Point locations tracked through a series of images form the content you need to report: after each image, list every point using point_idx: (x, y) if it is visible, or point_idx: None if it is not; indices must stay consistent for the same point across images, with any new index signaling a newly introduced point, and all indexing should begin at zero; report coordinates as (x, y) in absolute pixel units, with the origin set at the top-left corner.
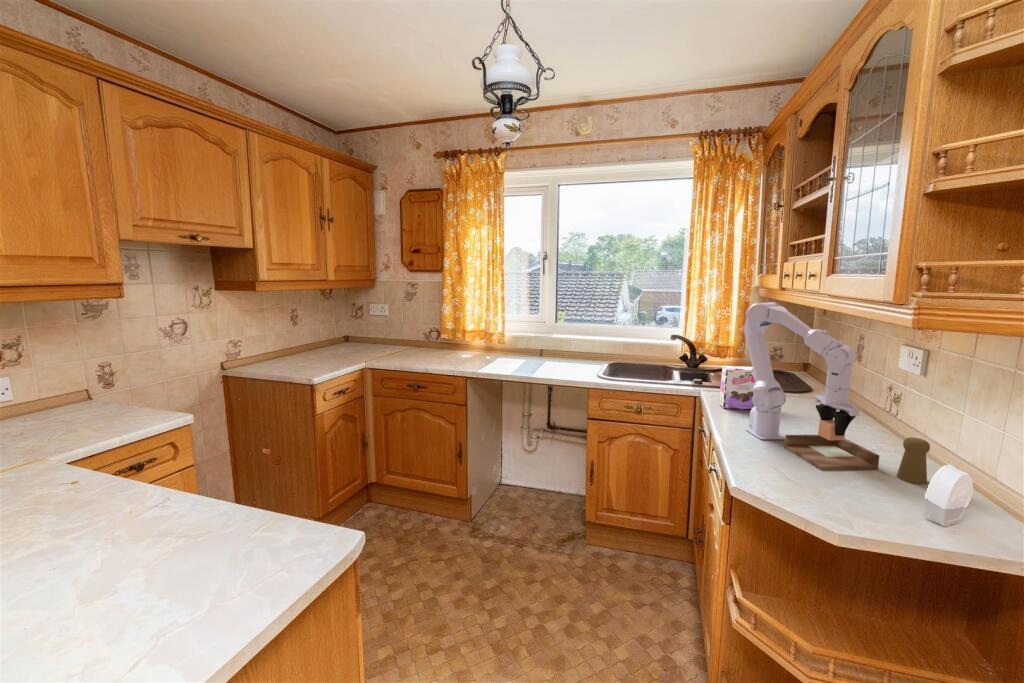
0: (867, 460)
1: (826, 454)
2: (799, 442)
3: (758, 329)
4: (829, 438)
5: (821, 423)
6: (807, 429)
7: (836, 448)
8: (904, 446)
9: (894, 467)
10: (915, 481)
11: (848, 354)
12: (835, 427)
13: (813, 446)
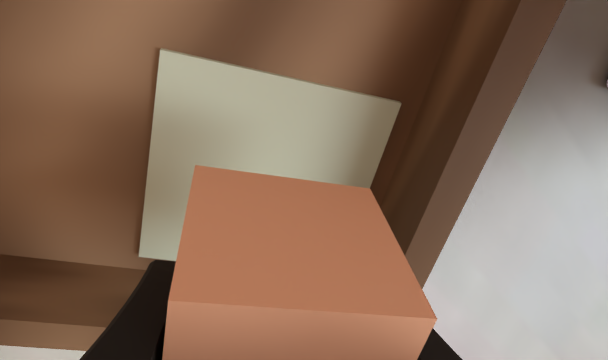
0: (28, 267)
1: (205, 90)
2: (459, 48)
3: None
4: (193, 176)
5: (380, 288)
6: (600, 344)
7: None
8: None
9: (20, 355)
10: None
11: None
12: (147, 327)
13: (375, 132)
